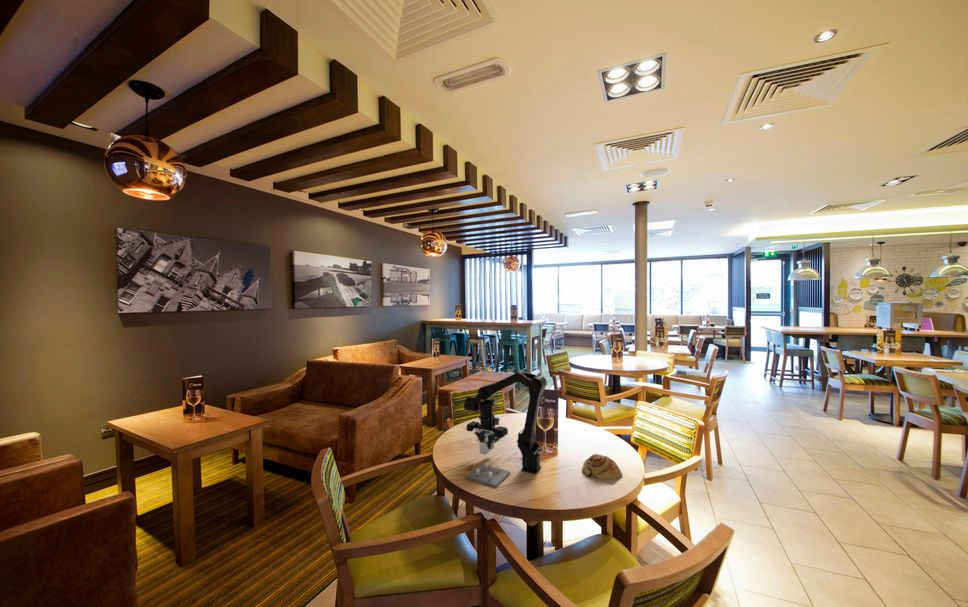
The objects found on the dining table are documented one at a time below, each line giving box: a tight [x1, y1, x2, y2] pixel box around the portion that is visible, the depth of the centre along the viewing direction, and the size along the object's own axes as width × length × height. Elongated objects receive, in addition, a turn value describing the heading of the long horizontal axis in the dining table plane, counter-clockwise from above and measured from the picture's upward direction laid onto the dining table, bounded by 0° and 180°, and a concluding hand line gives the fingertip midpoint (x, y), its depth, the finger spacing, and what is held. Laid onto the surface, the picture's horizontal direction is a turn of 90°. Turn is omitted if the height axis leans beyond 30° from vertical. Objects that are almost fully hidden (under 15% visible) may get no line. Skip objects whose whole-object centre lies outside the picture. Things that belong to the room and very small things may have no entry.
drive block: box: [478, 436, 495, 455], centre depth 154 cm, size 3×8×5 cm, turn 149°
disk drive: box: [485, 426, 501, 443], centre depth 181 cm, size 10×3×15 cm
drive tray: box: [465, 461, 511, 488], centre depth 138 cm, size 14×12×4 cm
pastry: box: [581, 453, 623, 481], centre depth 140 cm, size 13×15×8 cm
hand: (487, 448), depth 154 cm, fingers closed on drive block, 3 cm apart
